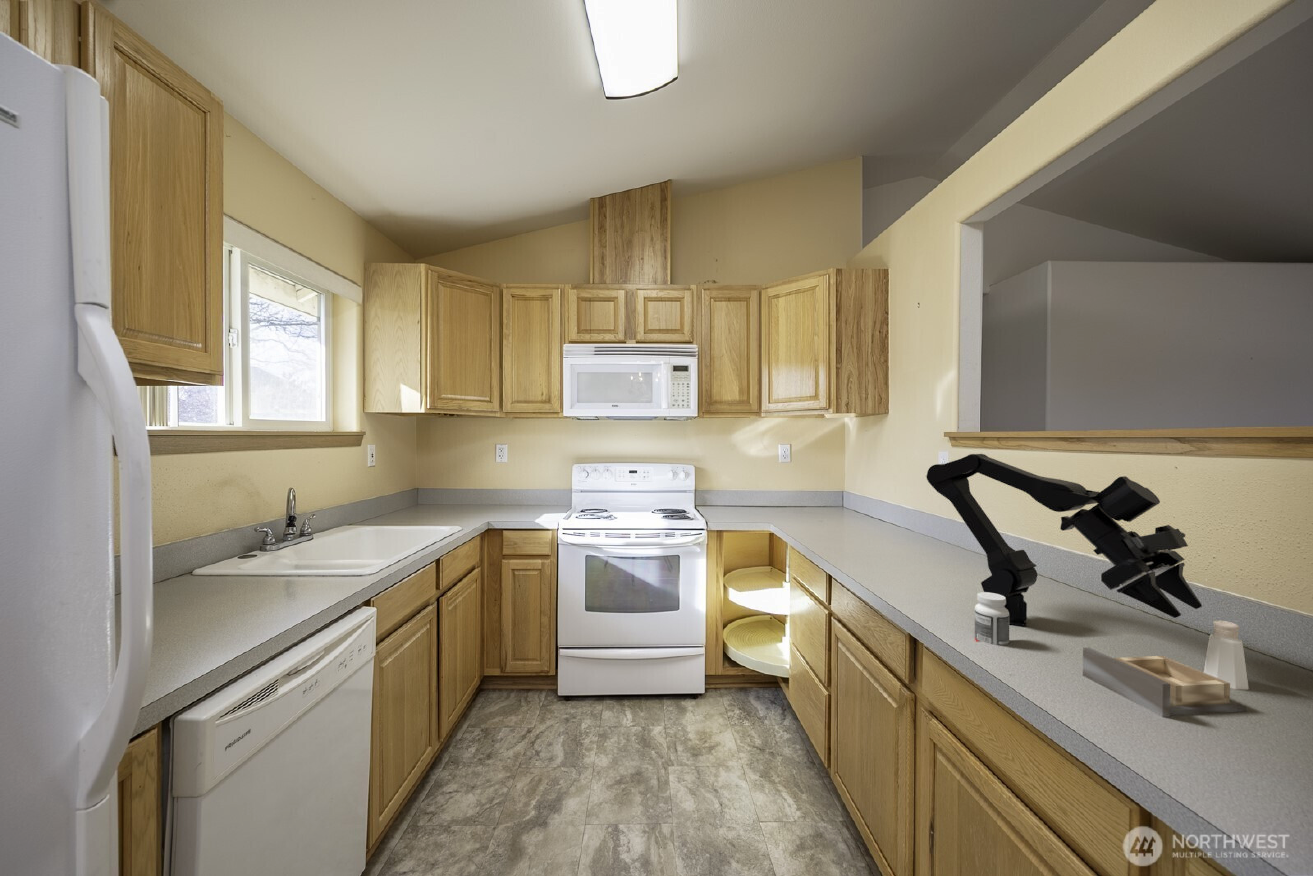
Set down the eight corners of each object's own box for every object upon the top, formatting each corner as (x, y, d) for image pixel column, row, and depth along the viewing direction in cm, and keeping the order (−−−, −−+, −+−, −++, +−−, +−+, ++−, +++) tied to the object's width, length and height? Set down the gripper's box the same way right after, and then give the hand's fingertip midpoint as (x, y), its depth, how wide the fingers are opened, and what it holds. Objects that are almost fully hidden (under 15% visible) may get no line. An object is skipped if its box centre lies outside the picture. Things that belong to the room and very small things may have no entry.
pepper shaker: (1237, 685, 82) (1238, 619, 82) (1260, 701, 77) (1261, 631, 77) (1193, 678, 84) (1193, 614, 84) (1212, 693, 79) (1213, 626, 79)
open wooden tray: (1135, 668, 88) (1136, 634, 88) (1251, 720, 72) (1252, 680, 72) (1053, 671, 86) (1053, 638, 86) (1152, 726, 70) (1153, 685, 70)
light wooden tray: (1162, 676, 82) (1162, 655, 82) (1229, 706, 73) (1230, 683, 73) (1113, 678, 81) (1113, 657, 81) (1175, 709, 72) (1175, 686, 72)
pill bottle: (1003, 641, 99) (1004, 592, 98) (1013, 653, 93) (1014, 602, 93) (970, 637, 100) (971, 589, 100) (979, 649, 95) (979, 598, 95)
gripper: (1124, 514, 84) (1218, 597, 75) (1168, 507, 93) (1258, 580, 83) (1069, 550, 92) (1148, 630, 82) (1115, 540, 100) (1192, 611, 90)
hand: (1189, 612), depth 84 cm, fingers open, 9 cm apart
